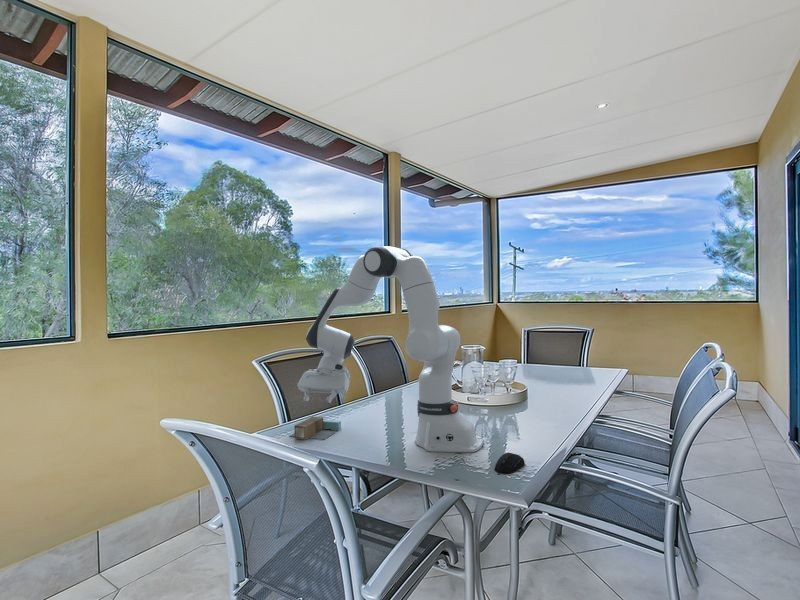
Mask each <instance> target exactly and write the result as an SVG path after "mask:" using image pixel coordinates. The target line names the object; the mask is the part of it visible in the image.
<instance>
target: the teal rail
mask: <svg viewBox="0 0 800 600" xmlns="http://www.w3.org/2000/svg"><path fill="white" fill-rule="evenodd" d="M307 419H308V418H306V419H305V420H307ZM325 429H331V430H330V431H336V430H339V431H341V430H342V421H341V420H331V419H329V420H328V419H323V430H325Z"/></svg>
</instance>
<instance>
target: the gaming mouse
mask: <svg viewBox="0 0 800 600" xmlns="http://www.w3.org/2000/svg"><path fill="white" fill-rule="evenodd" d="M525 465H526V463H525V459H524V457H523V456H521V455H520V454H516V453H513V452H506V453H503V454H502V455H500V457H499V458H498V459H497V462H496V463H495V465H494V471H495V472H497V476H500V475H501V474H504V475H505V474H506V475H510V474H513V473H515V472H517V471H518V470H520V469H521V467H522V468H523V467H525Z"/></svg>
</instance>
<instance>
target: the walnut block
mask: <svg viewBox="0 0 800 600" xmlns="http://www.w3.org/2000/svg"><path fill="white" fill-rule="evenodd" d="M306 419H307V420H306ZM306 419H305V420H302V421H301V422H298V423H296V424H294V425H293V426H294V427H293V428H294V433H295V437H294V439H298V440H307V439H308V438H309V437H311V436H313V435H315V434H316V433H318V432H320V431H322V430H324V429H323V420H324V417H323V416H311V417H309V418H306Z"/></svg>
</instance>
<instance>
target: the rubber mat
mask: <svg viewBox="0 0 800 600" xmlns="http://www.w3.org/2000/svg"><path fill="white" fill-rule="evenodd" d="M335 432H336V433H337V431H336V430H325V429H323V430H322V431H320V432H318V433H316V434H315V435H313V436H311V437H309V438H308V439H309V440H317V439H322V440H321V441H325V440H327V439H328V438H330V437H332V436H333V435H334V434H336V433H335ZM332 434H333V435H332ZM288 436H289V437H290V438H295V432H294V433H292V434H290V435H288ZM329 436H330V437H329ZM326 438H327V439H326Z"/></svg>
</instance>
